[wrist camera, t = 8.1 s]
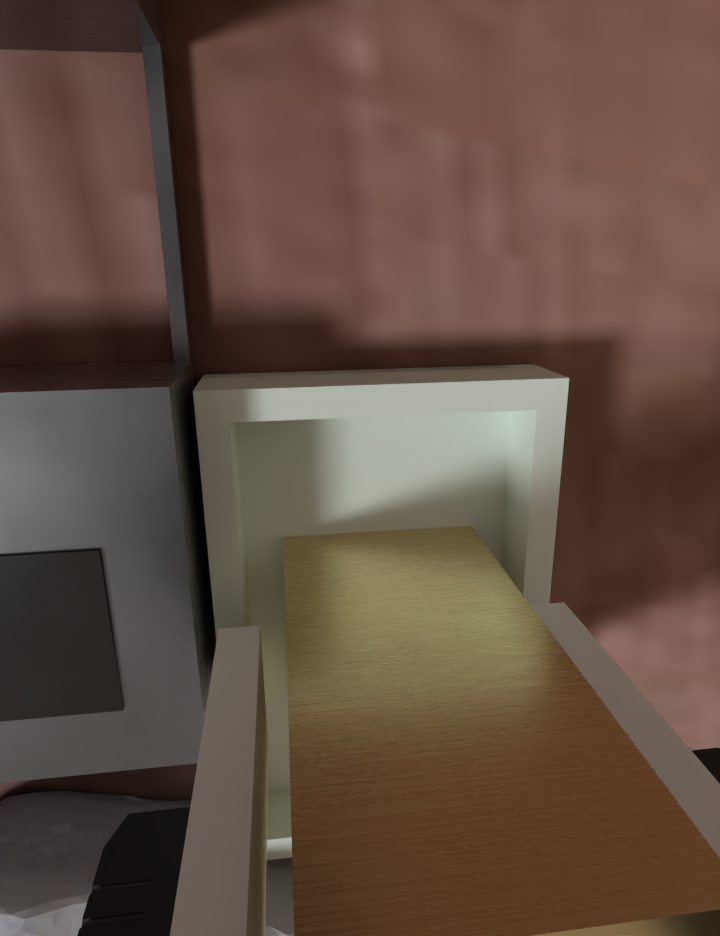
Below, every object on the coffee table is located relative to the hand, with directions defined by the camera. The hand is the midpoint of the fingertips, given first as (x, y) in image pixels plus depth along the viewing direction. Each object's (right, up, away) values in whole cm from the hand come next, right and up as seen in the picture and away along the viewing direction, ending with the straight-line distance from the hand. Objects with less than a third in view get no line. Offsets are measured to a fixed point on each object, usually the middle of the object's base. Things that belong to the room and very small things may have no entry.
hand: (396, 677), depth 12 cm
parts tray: (0, +1, +3) cm, 3 cm away
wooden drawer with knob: (0, +1, +2) cm, 2 cm away
